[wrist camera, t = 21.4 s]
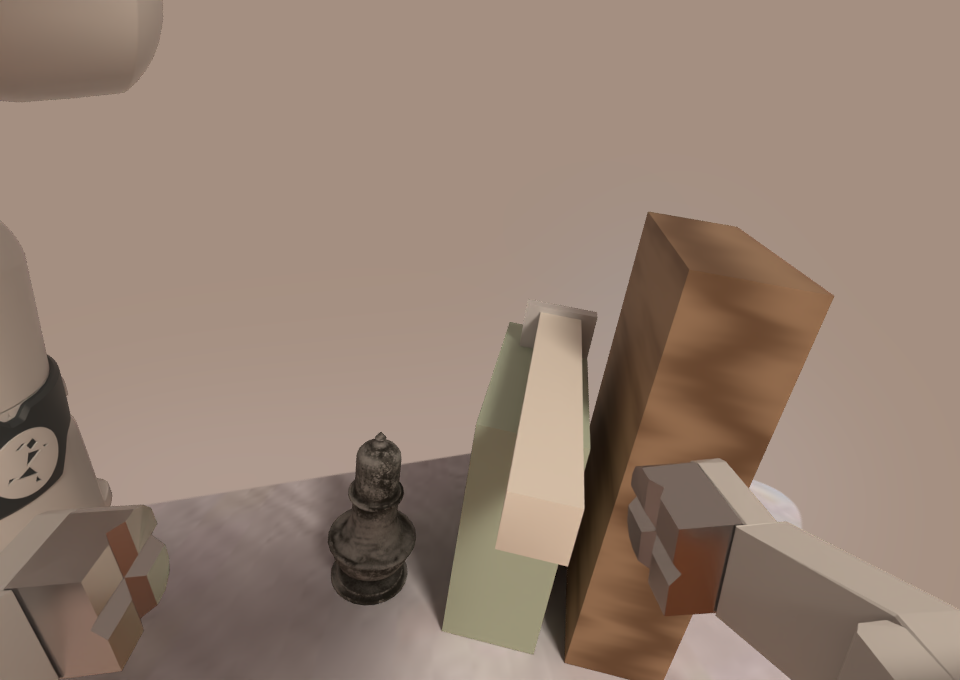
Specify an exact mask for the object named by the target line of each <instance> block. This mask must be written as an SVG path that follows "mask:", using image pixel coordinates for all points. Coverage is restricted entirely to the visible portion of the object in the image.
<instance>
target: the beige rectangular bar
mask: <svg viewBox="0 0 960 680" xmlns="http://www.w3.org/2000/svg"><path fill="white" fill-rule="evenodd" d="M596 321H597V312H593V311H588V310H582V309H577V308H572V307H566V306H562V305H556V304H551V303H546V302H541V301H536V300H530V299H529V300H528V303H527V308H526V313H525V318H524V324H523V329H522V334H521V339H520V344H519V346H523V347H528V348H533V352H532V357H531V363H530V368H529V373H528V378H527V383H526V389H525V394H524V399H523V404H522V410H521V415H520V420H519V425H518V431H517V436H516V441H515V446H514V452H513V457H512V462H511V467H510V473H509V478H508V483H507V488H506V494H505V499H504V504H503V509H502V514H501V520H500V525H499V530H498V535H497V541H496V546H495V549H497V550H501V551H505V552H509V553H513V554H518V555H522V556H526V557H530V558H534V559H538V560H542V561H547V562H551V563H555V564H559V565H563V566H567V567H568V564H569V561H570V558H571V554H572V551H573V547H574V544H575V540H576V537H577V533H578V530H579V526H580V523H581V519H582V516H583V513H584V451H583V390H582V359H587V356H588V352H589V348H590V345H591V341H592V337H593V333H594V328H595V325H596Z"/></svg>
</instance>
